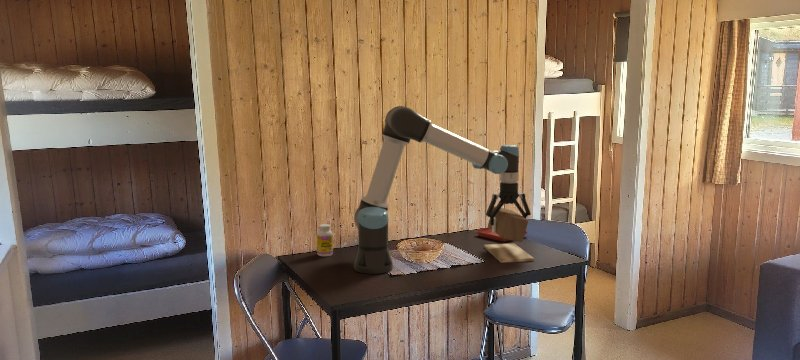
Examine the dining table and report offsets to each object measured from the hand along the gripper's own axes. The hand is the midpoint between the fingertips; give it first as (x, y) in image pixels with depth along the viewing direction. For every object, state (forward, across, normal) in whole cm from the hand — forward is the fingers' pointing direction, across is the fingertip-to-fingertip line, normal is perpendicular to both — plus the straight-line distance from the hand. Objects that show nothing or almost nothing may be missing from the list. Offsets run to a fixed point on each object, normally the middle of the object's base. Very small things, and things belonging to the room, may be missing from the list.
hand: (507, 232), depth 265 cm
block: (-3, 0, +11) cm, 12 cm away
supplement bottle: (+9, -77, +10) cm, 78 cm away
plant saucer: (+10, +7, +29) cm, 31 cm away
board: (+9, 0, -1) cm, 9 cm away
